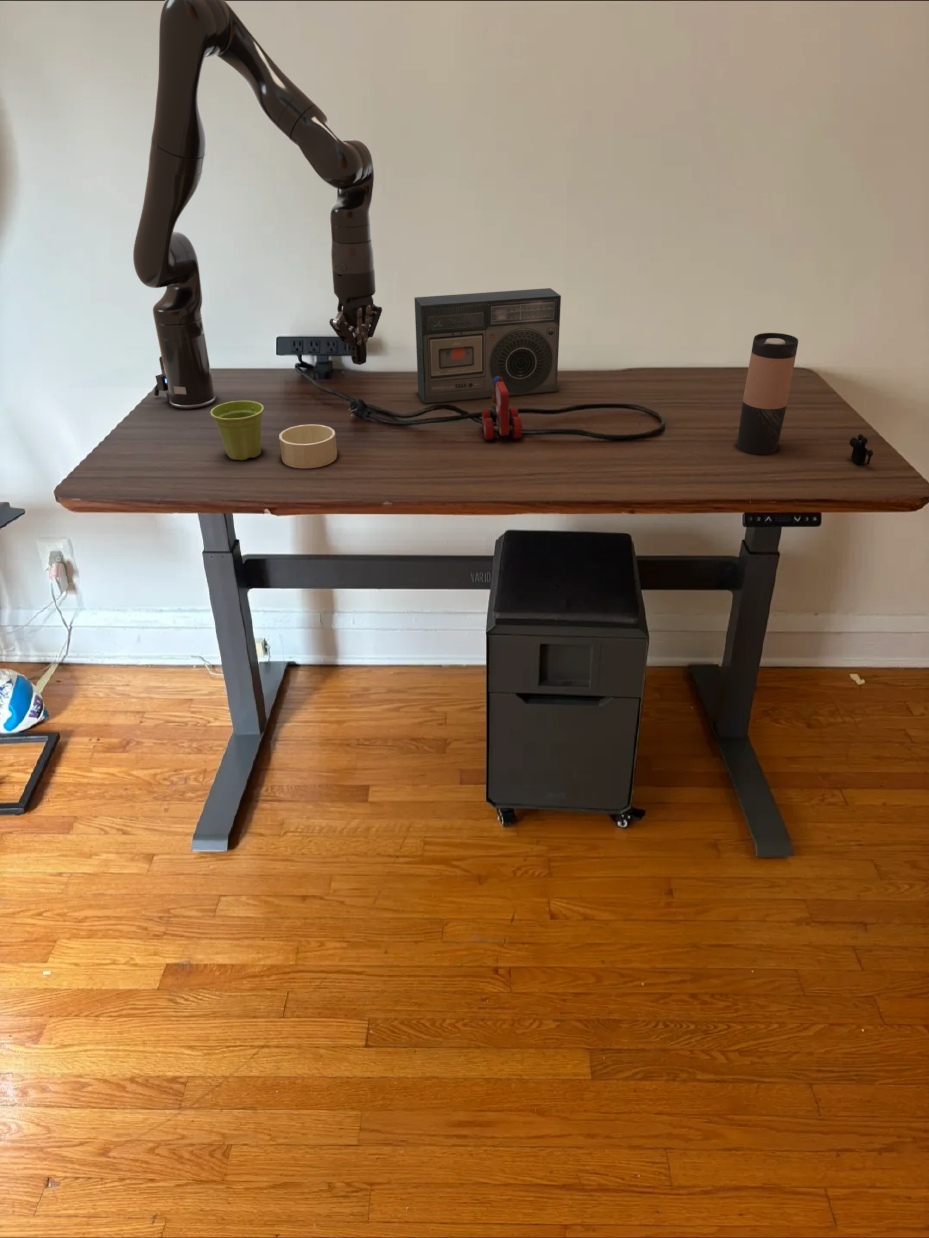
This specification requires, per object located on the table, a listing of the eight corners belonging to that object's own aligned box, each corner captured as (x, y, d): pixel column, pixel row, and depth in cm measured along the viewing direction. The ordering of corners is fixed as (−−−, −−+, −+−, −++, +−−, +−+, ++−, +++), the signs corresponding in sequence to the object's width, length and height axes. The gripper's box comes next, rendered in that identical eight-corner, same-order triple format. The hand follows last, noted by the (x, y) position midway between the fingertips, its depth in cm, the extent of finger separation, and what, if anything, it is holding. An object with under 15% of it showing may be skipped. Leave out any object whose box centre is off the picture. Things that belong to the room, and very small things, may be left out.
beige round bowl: (270, 461, 163) (267, 437, 161) (307, 443, 170) (304, 420, 168) (312, 472, 159) (309, 449, 156) (348, 454, 166) (346, 431, 163)
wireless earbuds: (871, 470, 157) (878, 443, 154) (857, 471, 157) (864, 444, 154) (851, 455, 163) (857, 428, 160) (838, 455, 163) (844, 429, 160)
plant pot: (258, 466, 161) (251, 420, 157) (209, 462, 163) (201, 416, 158) (277, 446, 169) (271, 402, 164) (230, 443, 171) (223, 399, 166)
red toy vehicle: (515, 421, 179) (516, 369, 173) (522, 444, 169) (524, 390, 163) (480, 422, 179) (480, 371, 173) (486, 446, 168) (486, 392, 162)
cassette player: (424, 403, 188) (421, 305, 177) (418, 393, 194) (414, 297, 183) (556, 391, 194) (560, 295, 183) (546, 381, 199) (550, 288, 189)
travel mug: (779, 442, 168) (799, 334, 157) (777, 457, 162) (798, 346, 151) (737, 437, 170) (754, 331, 160) (733, 452, 164) (751, 342, 154)
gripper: (360, 258, 166) (365, 351, 176) (312, 271, 157) (321, 369, 166) (392, 263, 163) (396, 357, 172) (345, 277, 153) (352, 376, 163)
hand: (359, 363), depth 169 cm, fingers closed
